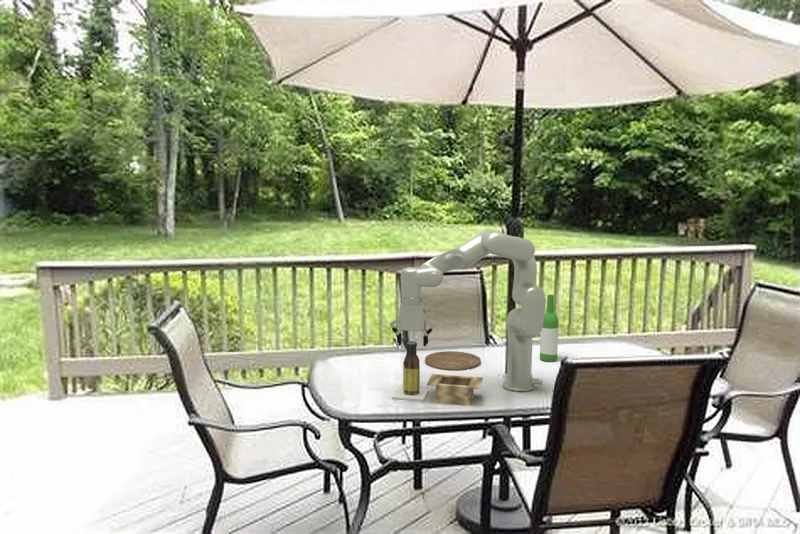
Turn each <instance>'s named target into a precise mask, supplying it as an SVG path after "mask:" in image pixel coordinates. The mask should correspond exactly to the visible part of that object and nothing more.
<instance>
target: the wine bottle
mask: <svg viewBox="0 0 800 534" xmlns="http://www.w3.org/2000/svg"><path fill="white" fill-rule="evenodd" d="M546 296H547V297H546V312H545V314H544V323H543V328H542V331H541V333H540V334H539V335H540V336H539V338H540V339H539V359H540V360H541V361H544V362H550V363H551V362H556V361H557V360H558V350H559V349H558V346H559V341H558V340H559V318H558V316H557V314H556V313H554V312H555V311H554V308H555V295H554V294H547V295H546Z"/></svg>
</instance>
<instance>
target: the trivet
mask: <svg viewBox="0 0 800 534" xmlns="http://www.w3.org/2000/svg"><path fill="white" fill-rule="evenodd" d="M481 361H482V360H481V357H479V356H478V355H476V354H473V353H469V352H465V351H457V350H456V351H450V350H449V351H448V350H447V351H438V352H437V351H436V352H432V353H430V354H428V355H426V356H425V358H424V363H425V364H426V366H428V367H430V368H433V369H434V370H435V369H437V370H440V371H441V370H442V371H449V372H451V371H453V372H455V371H456V372H457V371H458V372H459V371H468V369H469V370H473V369H476V368H478V367H480V366H481V364H482V363H481ZM479 365H480V366H479Z"/></svg>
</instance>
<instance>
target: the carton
mask: <svg viewBox="0 0 800 534" xmlns="http://www.w3.org/2000/svg"><path fill="white" fill-rule="evenodd" d="M483 379H484V377H481V376H468V375H467V376H465V375H464V376H463V375H451V374H437V373H436V374H435V373H432V374H431V376H430V377H429V379H428V381H427V383H426V386H428V387H429V386H430V387H432V386H433V387H435V404H439V405H440V404H442V405H453V406H465V405H470V406H471V404H472V401H473V398H472V397H474V392H475V391H474V390H481V387H482V384H483ZM471 400H472V401H471Z"/></svg>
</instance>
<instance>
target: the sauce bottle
mask: <svg viewBox="0 0 800 534" xmlns="http://www.w3.org/2000/svg"><path fill="white" fill-rule="evenodd" d="M417 346H418V342H417V341H415V340H414V341H413V340H410V341H406V343H405V347H406V353H405V356H404V360H403V363H402V364H403V366H402V367H403V371H402V372H403V375H402V376H403V380H402V381H403V382H402V384H403V386H402V387H403V388H404V393H406V394H410V395H414V394H418V393H419V388H421V385H420V384H421V382H420V381H421V379H420V376H421V373H420V372H421V371H420V370H421V369H420V359H419V358H420V357H419V356H418V355H417V354H418V353H417V348H418V347H417Z"/></svg>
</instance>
